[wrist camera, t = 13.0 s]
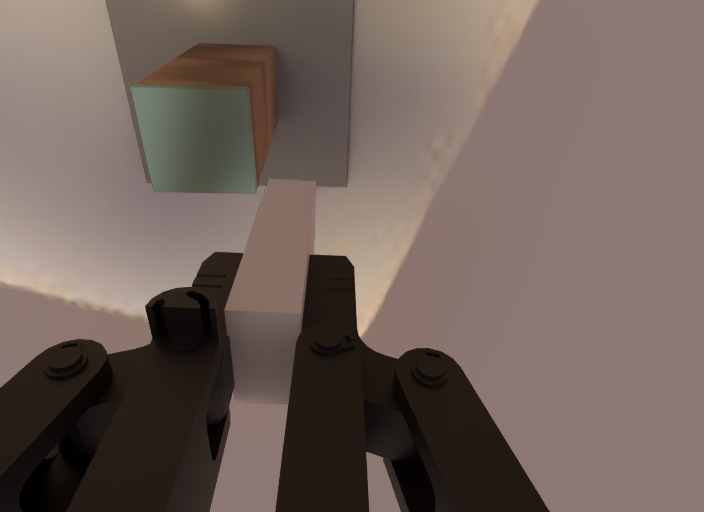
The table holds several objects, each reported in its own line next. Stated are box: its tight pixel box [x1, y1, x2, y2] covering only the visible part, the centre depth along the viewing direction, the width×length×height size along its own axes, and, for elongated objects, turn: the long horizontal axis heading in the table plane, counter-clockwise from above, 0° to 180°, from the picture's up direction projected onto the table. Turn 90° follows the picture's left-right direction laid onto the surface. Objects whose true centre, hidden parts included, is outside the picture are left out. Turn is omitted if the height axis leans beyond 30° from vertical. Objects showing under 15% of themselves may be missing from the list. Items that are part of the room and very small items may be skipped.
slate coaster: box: [106, 0, 353, 187], centre depth 28 cm, size 14×14×1 cm
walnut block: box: [130, 43, 278, 194], centre depth 24 cm, size 4×4×11 cm
